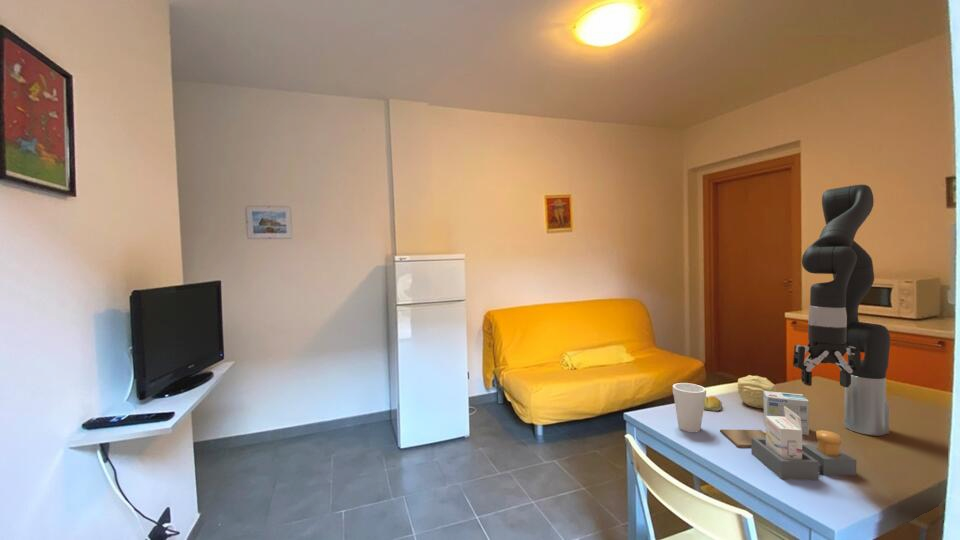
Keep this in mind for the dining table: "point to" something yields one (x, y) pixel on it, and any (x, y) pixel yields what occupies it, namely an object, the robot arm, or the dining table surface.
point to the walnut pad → (743, 436)
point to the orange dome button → (828, 442)
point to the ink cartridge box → (785, 435)
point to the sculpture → (754, 390)
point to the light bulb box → (794, 402)
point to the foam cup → (689, 405)
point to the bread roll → (712, 404)
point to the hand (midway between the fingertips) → (825, 385)
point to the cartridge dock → (803, 462)
